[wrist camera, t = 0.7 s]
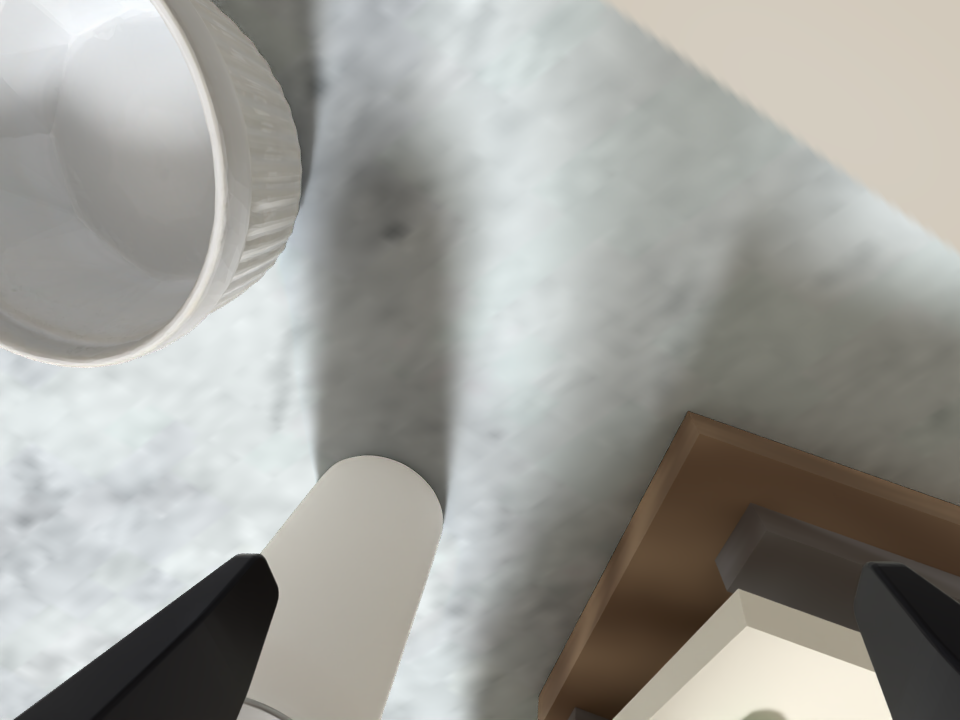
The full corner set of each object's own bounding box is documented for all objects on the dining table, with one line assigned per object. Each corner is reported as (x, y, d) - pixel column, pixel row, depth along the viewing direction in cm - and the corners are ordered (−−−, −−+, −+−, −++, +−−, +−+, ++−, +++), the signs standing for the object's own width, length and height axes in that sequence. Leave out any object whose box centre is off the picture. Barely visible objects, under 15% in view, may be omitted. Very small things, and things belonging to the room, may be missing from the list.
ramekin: (-29, 125, 22) (-274, 105, 16) (156, -136, 18) (-73, -308, 11) (192, 368, 25) (59, 440, 18) (400, 189, 20) (325, 197, 14)
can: (373, 424, 24) (209, 644, 13) (473, 517, 25) (401, 799, 14) (291, 501, 26) (90, 746, 15) (386, 584, 27) (262, 874, 16)
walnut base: (863, 816, 28) (906, 908, 24) (538, 696, 28) (535, 769, 25) (1117, 561, 21) (1225, 637, 18) (687, 410, 22) (711, 456, 18)
